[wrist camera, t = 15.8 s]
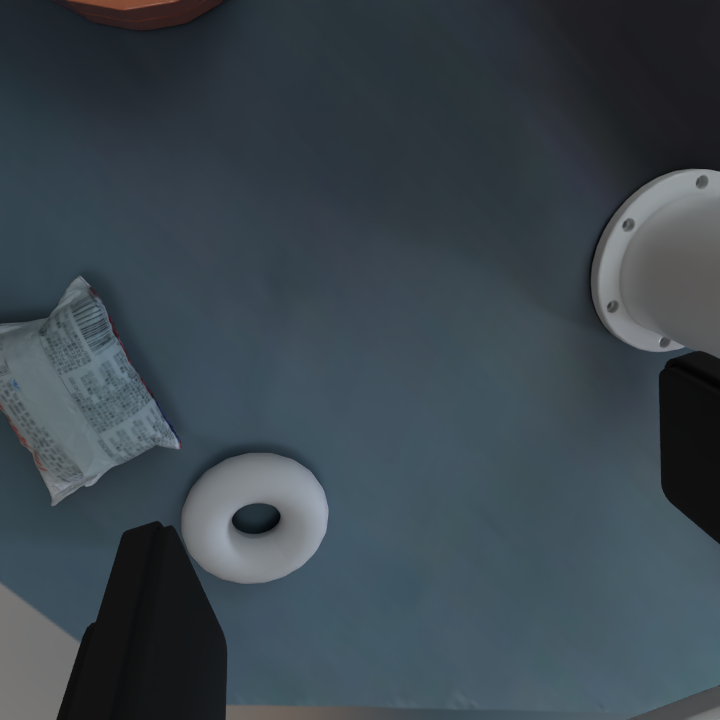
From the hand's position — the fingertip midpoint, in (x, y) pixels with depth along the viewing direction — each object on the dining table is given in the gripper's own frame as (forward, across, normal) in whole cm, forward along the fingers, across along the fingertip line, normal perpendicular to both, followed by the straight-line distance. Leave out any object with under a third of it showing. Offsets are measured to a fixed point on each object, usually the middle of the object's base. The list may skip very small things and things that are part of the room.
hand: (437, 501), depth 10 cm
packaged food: (+26, +15, +4) cm, 31 cm away
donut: (+26, +8, +17) cm, 32 cm away
